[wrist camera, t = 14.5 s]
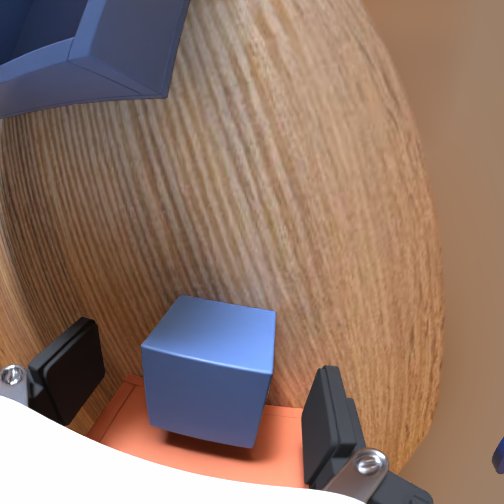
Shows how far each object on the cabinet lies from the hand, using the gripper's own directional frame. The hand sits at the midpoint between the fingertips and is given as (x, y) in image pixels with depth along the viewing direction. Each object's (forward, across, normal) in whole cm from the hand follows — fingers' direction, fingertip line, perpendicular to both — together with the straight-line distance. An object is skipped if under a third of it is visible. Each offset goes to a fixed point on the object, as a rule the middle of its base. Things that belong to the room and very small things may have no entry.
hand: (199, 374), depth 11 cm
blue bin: (+3, +10, -17) cm, 20 cm away
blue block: (+3, 0, 0) cm, 3 cm away
